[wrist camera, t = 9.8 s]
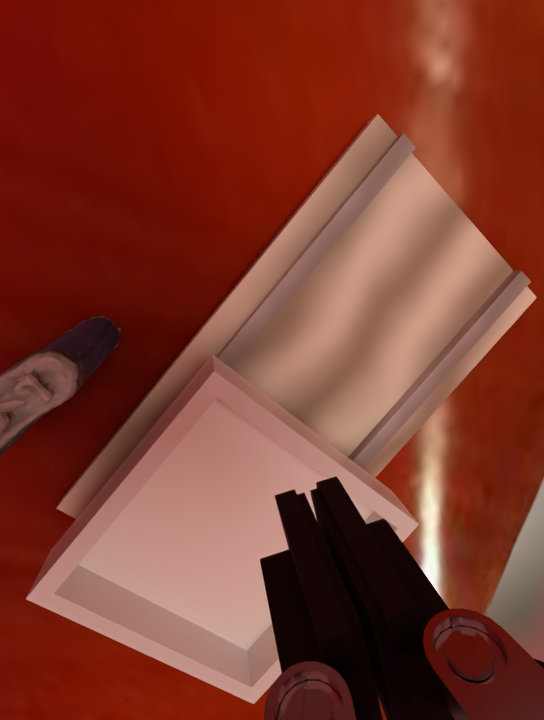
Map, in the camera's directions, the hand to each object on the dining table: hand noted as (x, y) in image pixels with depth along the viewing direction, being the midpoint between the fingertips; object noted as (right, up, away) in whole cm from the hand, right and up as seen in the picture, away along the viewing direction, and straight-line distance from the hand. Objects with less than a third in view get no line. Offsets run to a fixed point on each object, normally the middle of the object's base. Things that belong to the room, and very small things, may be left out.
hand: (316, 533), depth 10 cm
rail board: (+1, +2, +20) cm, 20 cm away
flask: (-16, +4, +17) cm, 23 cm away
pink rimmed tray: (-4, -6, +18) cm, 20 cm away
